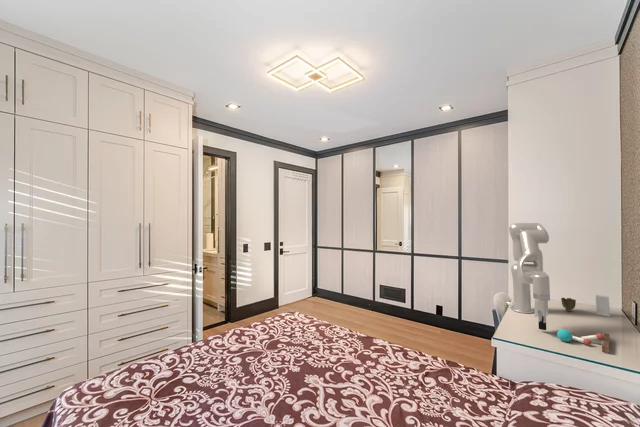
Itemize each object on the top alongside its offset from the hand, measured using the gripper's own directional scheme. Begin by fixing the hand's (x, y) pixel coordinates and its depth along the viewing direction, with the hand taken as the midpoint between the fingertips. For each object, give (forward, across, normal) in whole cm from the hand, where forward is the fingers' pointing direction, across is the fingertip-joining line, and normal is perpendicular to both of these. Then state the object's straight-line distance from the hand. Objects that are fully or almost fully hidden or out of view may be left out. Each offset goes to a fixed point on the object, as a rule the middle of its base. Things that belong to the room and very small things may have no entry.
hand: (542, 329), depth 159 cm
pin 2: (+1, 0, +16) cm, 16 cm away
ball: (-2, +6, +10) cm, 12 cm away
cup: (+2, -51, +6) cm, 51 cm away
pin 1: (0, +2, +12) cm, 12 cm away
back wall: (+2, 0, +25) cm, 25 cm away
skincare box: (+2, -55, +22) cm, 59 cm away
